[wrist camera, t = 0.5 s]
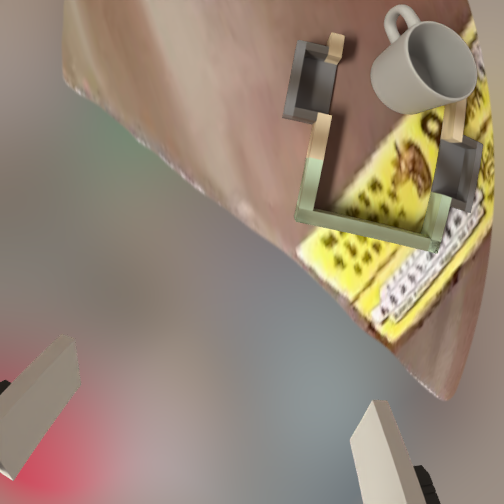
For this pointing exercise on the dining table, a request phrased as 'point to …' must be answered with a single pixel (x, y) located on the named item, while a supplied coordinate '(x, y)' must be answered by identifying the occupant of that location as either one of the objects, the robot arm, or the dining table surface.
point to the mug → (422, 65)
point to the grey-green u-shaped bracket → (316, 112)
